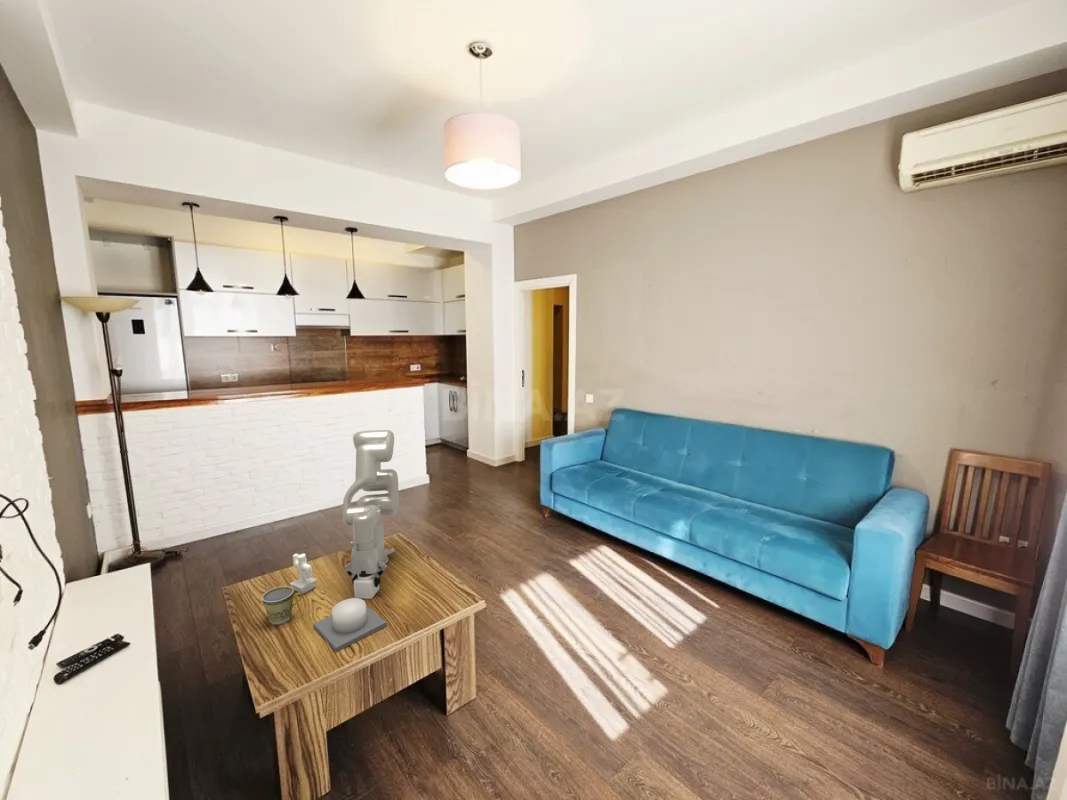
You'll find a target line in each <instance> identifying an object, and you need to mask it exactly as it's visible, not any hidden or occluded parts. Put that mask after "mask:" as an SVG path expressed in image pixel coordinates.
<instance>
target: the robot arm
mask: <svg viewBox="0 0 1067 800" xmlns="http://www.w3.org/2000/svg"><path fill="white" fill-rule="evenodd" d="M394 435H395V434H394V433H393V431H392V430H389V429H387V430H386V429H382V430H381V429H380V430H362V431H358V432H356V433H354V435H353V437H352V438H353V439H352V441H353V445H354V448H355V451H356V452H355V480H354V482H353V483H352V484H351V486H349V488H348V489H347V491H346V493H345V494H344V497H343V502H342V522H343V524H344V525H345V526H347V527H352V532H353V533H352V534H353V535H352V536H353V541H350V544H349V545H350V546H353V547H352V549H351V554H350V562H349V563H348V564H346V565H345V566H344V567H343V570H344V571H345V572H346V574H347V575H348V576H350V579H351V580H352V581H351V582H352V585H353V586H354V581H355V579H356V578H357V577H358V574H361V571H366V574H374V575H375V576H376V577H375V587H378V585H379V586H380V584H381V576H382V575H383V574H384V572H385V571H386V569H387V567H388V565H387V564H388V562H389V555H391V554H392V553H394V552H395V548H394V547H393V548H389V547H386V548H385V539H384V537H385V536H384V535H385V534H384V523H383V521H382V519H381V517H382V516H393V515H396V514H397V513H398V512H399V508H400V507H399V506H400V501H399V500H400V497H399V495H400V494H399V477H398V473H397V471H396V470H395V469H394V468H393V469H392V468H387V469H386V468H385V469H382V466H381V465H382V464H381V463H389V462H391V461H392V459H393V455H394V445H395V436H394ZM361 490H362V491H364V492H368V493H369V492H371V493H372V492H383V491H385V492H387V493H376V494H375V493H374V494H365V495H363V496H361V497H359V498H358V500H357V502H356V506H351V505H352V499H353V498H354V496H355V494H357V493H358V492H360V491H361ZM379 568H381V569H379Z"/></svg>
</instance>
